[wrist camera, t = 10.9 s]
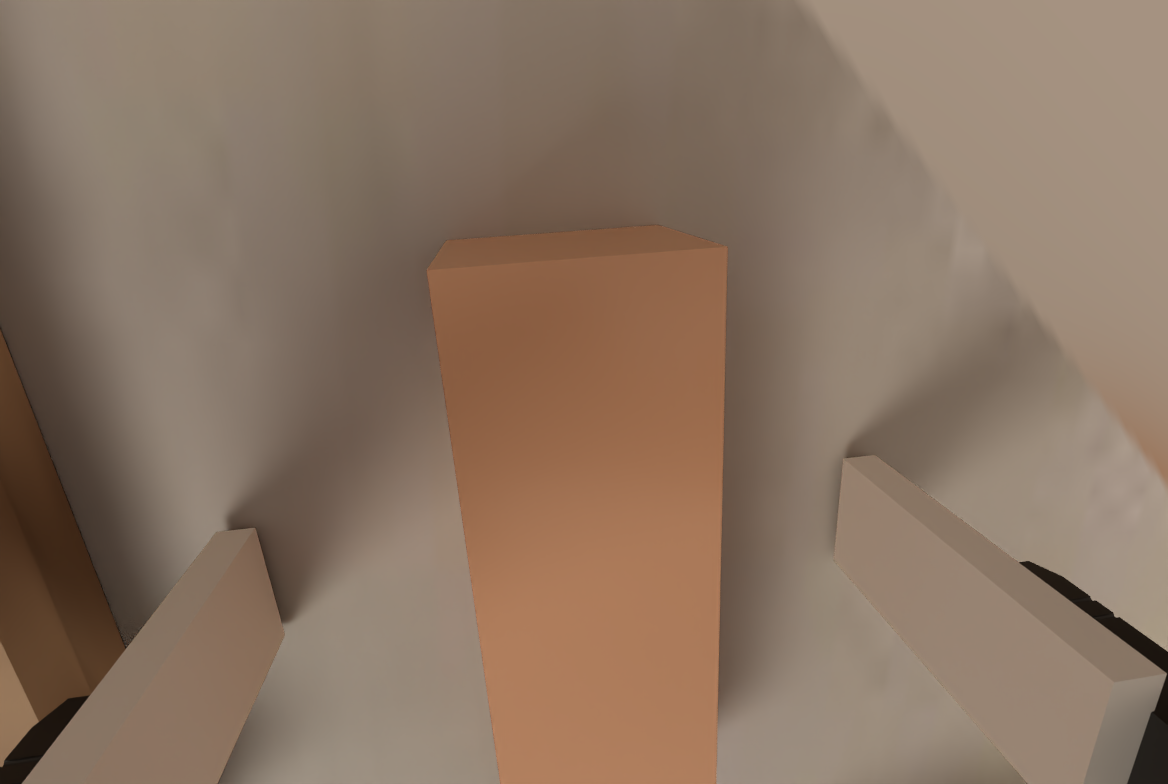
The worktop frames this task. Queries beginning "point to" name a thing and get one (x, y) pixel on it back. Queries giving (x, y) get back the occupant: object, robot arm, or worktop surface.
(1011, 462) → the worktop surface
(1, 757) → the wooden crate tray
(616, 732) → the orange rectangular block
